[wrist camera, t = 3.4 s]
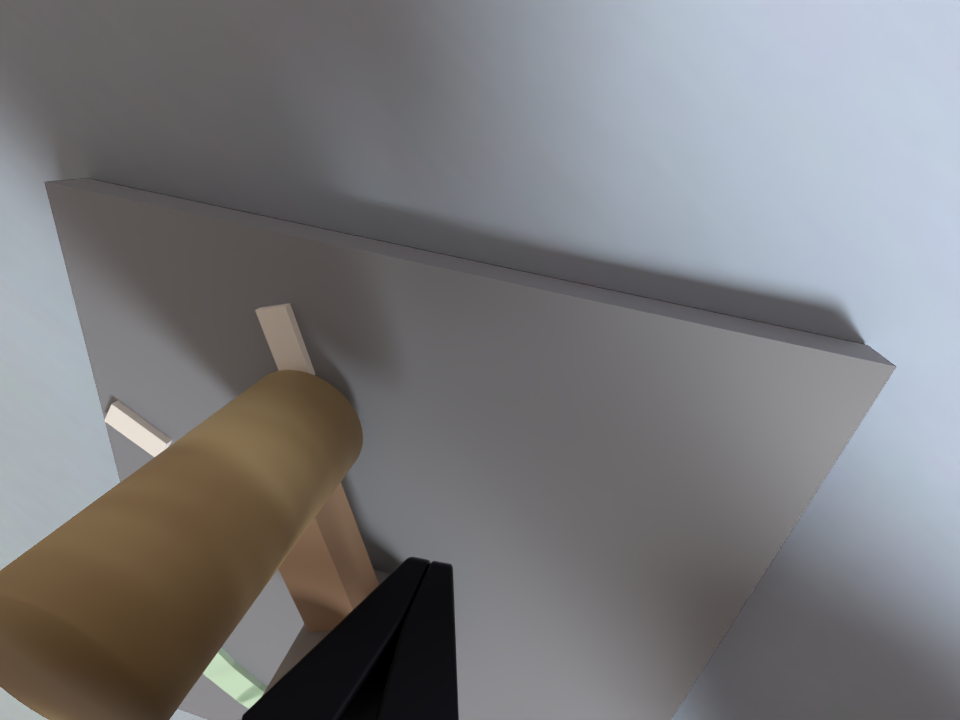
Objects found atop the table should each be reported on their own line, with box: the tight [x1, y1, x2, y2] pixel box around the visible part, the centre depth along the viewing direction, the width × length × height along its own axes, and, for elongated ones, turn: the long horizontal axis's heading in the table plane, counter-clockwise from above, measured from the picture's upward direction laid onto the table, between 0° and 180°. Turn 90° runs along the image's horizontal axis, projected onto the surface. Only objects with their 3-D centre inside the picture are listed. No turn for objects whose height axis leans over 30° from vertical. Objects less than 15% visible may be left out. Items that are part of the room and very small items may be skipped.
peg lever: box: [0, 370, 390, 720], centre depth 10 cm, size 10×4×6 cm, turn 11°
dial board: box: [45, 178, 896, 720], centre depth 15 cm, size 19×22×1 cm
